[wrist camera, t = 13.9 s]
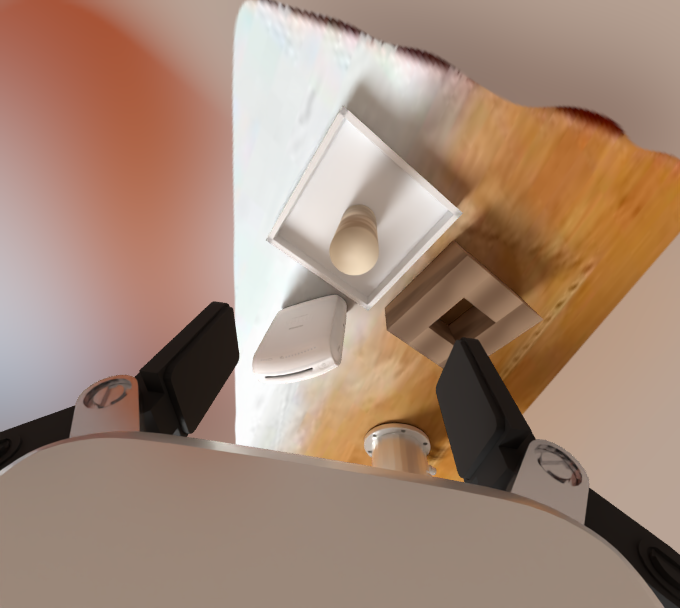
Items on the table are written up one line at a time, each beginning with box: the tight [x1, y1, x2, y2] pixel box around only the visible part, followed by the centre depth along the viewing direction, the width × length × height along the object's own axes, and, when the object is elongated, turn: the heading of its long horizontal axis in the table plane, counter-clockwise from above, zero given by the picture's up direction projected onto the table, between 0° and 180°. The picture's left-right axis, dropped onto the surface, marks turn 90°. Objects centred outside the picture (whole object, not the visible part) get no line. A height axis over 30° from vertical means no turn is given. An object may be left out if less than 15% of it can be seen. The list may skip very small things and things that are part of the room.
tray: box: [266, 106, 463, 310], centre depth 29 cm, size 15×15×2 cm
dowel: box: [329, 205, 379, 275], centre depth 25 cm, size 4×4×10 cm
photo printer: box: [252, 295, 347, 384], centre depth 31 cm, size 10×4×12 cm, turn 110°
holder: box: [385, 240, 543, 369], centre depth 32 cm, size 12×12×5 cm
